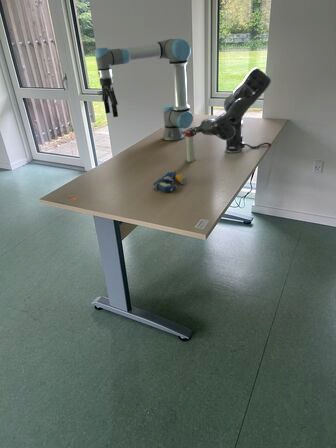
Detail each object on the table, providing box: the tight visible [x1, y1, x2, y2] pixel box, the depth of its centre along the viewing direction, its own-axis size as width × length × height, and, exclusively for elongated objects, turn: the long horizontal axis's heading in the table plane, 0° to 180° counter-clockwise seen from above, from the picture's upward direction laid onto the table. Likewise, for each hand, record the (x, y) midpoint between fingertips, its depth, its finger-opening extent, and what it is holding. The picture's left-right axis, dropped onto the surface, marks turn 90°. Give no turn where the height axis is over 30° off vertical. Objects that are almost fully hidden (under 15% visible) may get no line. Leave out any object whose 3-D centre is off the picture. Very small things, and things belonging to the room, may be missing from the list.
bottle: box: [185, 135, 195, 163], centre depth 202 cm, size 5×5×18 cm
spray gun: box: [152, 170, 188, 193], centre depth 177 cm, size 21×4×15 cm
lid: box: [184, 129, 195, 138], centre depth 198 cm, size 5×6×2 cm
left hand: (111, 114), depth 206 cm, fingers open, 13 cm apart
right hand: (198, 126), depth 180 cm, fingers open, 8 cm apart
